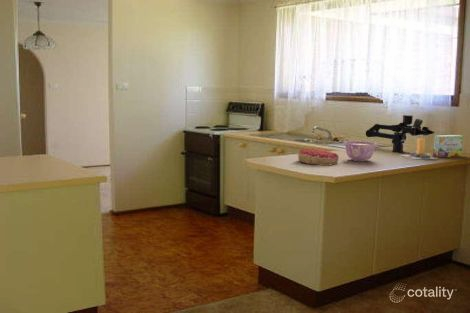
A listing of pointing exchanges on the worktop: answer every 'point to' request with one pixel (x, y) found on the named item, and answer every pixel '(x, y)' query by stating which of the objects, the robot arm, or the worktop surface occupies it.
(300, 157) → the cake
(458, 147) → the snack box
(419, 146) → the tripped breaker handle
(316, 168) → the worktop surface
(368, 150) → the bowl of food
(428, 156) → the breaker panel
